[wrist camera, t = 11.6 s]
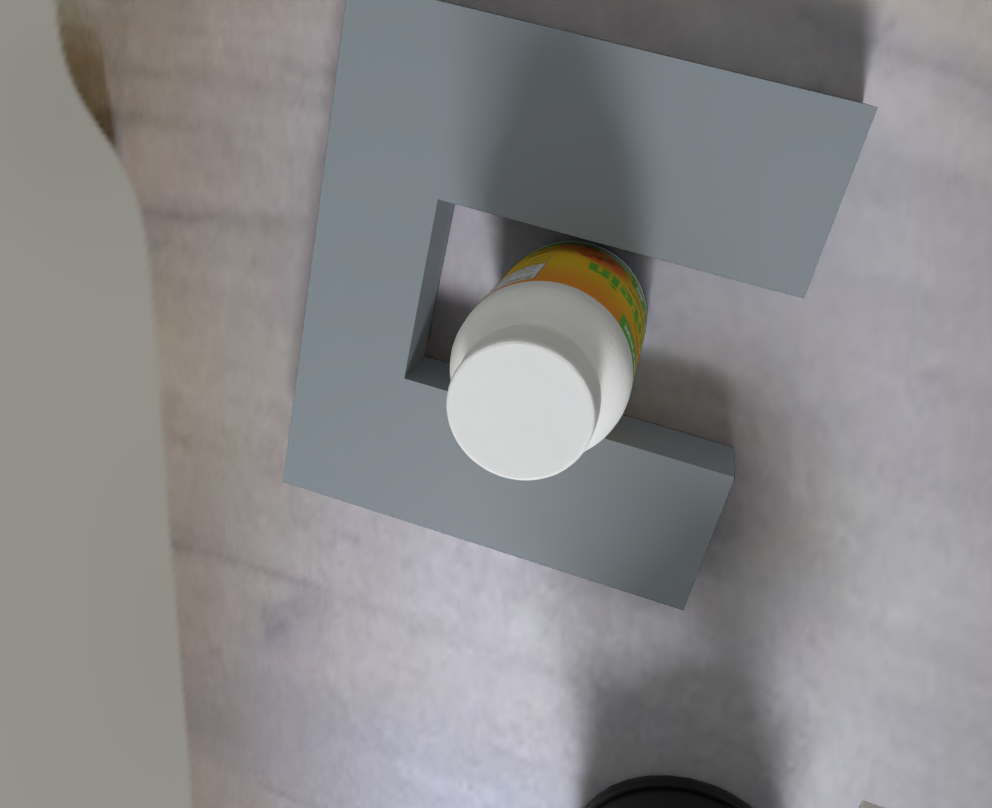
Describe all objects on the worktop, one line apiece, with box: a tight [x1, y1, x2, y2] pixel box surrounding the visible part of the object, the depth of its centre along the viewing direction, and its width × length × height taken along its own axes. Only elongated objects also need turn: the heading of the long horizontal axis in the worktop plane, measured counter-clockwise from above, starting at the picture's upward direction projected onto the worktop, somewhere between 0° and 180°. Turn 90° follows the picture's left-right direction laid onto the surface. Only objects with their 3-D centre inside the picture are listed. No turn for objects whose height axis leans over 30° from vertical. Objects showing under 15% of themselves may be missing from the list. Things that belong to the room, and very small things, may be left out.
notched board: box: [283, 0, 878, 610], centre depth 30 cm, size 16×18×2 cm
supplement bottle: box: [446, 241, 647, 480], centre depth 27 cm, size 5×5×10 cm
